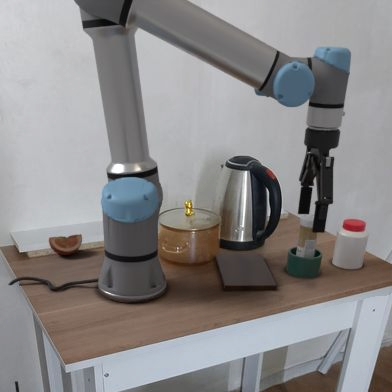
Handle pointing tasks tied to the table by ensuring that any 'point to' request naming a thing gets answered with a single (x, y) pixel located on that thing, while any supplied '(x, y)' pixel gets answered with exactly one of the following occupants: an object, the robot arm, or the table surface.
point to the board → (244, 272)
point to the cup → (303, 264)
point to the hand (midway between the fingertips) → (310, 222)
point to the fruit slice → (65, 244)
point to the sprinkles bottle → (306, 237)
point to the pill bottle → (350, 244)
